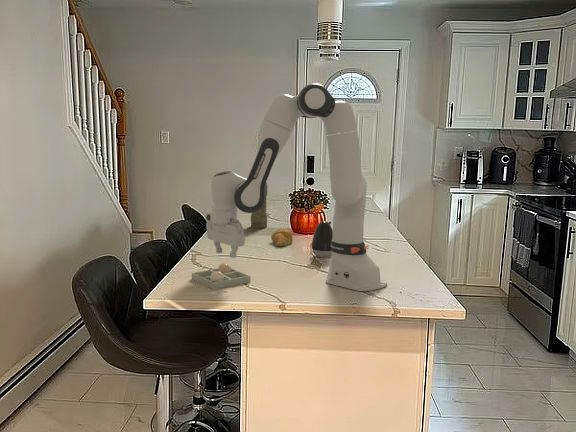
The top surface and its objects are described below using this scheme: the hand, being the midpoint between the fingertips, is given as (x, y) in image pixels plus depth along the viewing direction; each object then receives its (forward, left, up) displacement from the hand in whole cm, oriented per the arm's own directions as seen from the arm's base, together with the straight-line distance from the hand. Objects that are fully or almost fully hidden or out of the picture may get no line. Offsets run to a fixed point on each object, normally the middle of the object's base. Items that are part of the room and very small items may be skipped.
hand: (226, 255), depth 198 cm
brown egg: (+1, 0, -8) cm, 8 cm away
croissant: (+37, -53, -9) cm, 65 cm away
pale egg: (-7, +8, -8) cm, 13 cm away
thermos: (+75, -66, -9) cm, 101 cm away
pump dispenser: (+5, -51, -9) cm, 53 cm away
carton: (-3, +4, -9) cm, 10 cm away
